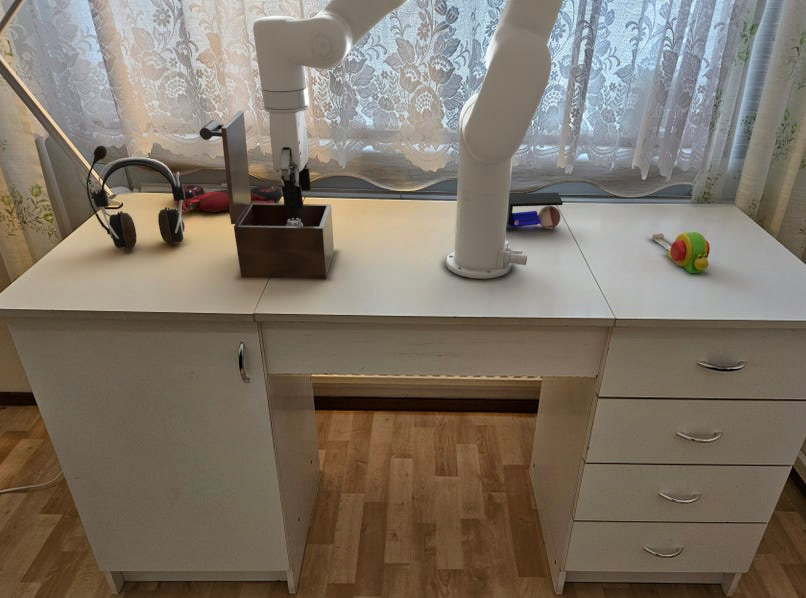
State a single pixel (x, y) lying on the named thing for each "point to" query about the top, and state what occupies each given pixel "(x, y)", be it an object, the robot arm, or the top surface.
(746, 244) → the top surface
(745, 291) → the top surface
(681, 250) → the toy measuring tape
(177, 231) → the headset
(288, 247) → the toy chest
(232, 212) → the box lid
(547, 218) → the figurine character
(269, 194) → the toy motorcycle
